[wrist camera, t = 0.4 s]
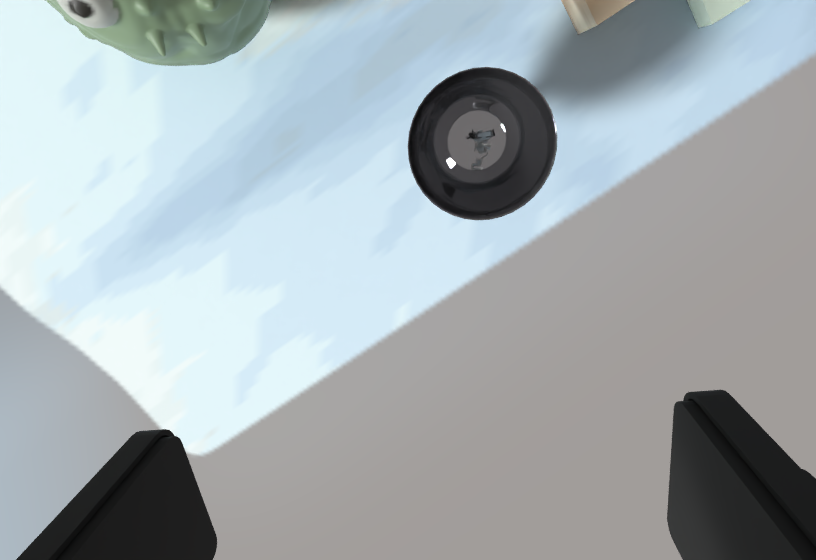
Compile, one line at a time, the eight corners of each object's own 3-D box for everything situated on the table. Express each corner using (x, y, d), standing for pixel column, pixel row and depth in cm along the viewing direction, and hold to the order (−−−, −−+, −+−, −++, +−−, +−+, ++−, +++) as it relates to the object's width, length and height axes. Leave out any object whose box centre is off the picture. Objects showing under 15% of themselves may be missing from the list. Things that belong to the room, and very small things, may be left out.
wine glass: (431, 69, 38) (423, 52, 24) (529, 89, 38) (578, 83, 24) (412, 168, 41) (395, 205, 27) (503, 187, 41) (533, 233, 27)
